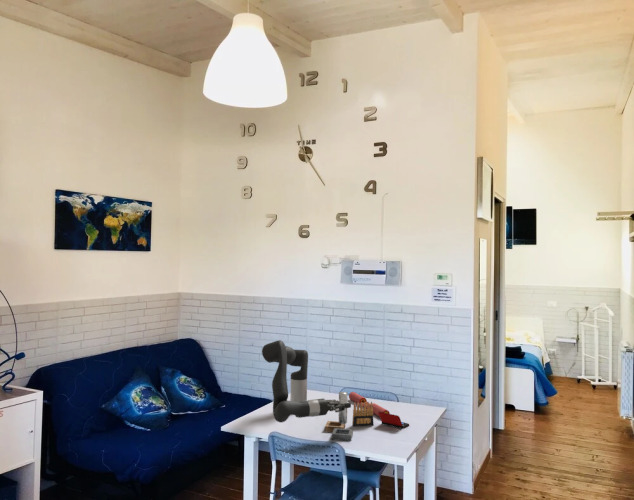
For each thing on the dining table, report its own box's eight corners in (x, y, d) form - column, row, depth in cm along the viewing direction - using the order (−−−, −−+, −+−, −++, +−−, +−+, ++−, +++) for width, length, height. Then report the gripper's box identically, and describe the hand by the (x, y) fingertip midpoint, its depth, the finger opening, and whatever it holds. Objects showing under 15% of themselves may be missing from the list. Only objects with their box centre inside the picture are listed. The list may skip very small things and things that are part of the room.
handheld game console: (410, 426, 275) (410, 411, 275) (398, 431, 267) (398, 416, 267) (389, 421, 283) (389, 406, 283) (377, 425, 275) (377, 411, 275)
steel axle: (339, 420, 259) (339, 391, 259) (347, 421, 258) (347, 392, 258) (338, 423, 255) (338, 393, 255) (346, 424, 254) (346, 394, 254)
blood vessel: (389, 419, 287) (389, 409, 287) (381, 420, 285) (381, 410, 285) (356, 399, 326) (356, 391, 326) (348, 400, 324) (348, 392, 325)
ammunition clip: (353, 426, 272) (353, 402, 272) (352, 425, 274) (352, 401, 274) (373, 425, 274) (373, 401, 275) (372, 424, 276) (372, 400, 276)
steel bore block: (334, 433, 261) (334, 428, 261) (352, 434, 260) (353, 429, 260) (331, 439, 252) (331, 434, 252) (350, 440, 251) (351, 435, 251)
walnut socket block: (327, 425, 273) (327, 420, 273) (345, 427, 271) (345, 422, 271) (324, 431, 264) (324, 426, 264) (343, 432, 262) (343, 427, 262)
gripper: (322, 403, 244) (355, 399, 251) (309, 395, 257) (341, 392, 264) (322, 420, 244) (355, 415, 251) (309, 411, 257) (341, 407, 264)
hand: (348, 403), depth 258 cm, fingers closed on steel axle, 4 cm apart
